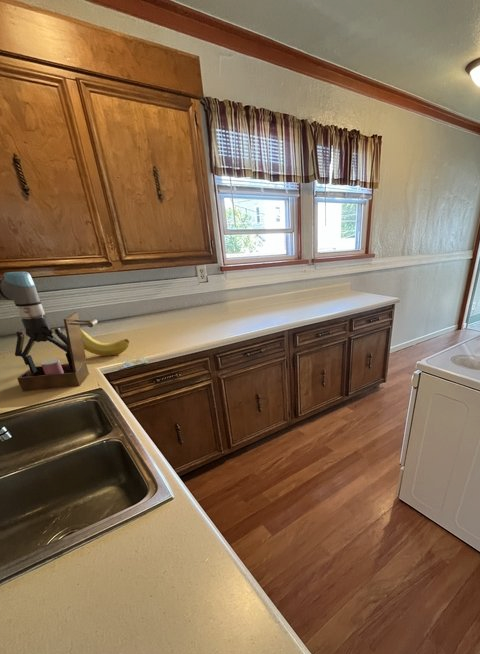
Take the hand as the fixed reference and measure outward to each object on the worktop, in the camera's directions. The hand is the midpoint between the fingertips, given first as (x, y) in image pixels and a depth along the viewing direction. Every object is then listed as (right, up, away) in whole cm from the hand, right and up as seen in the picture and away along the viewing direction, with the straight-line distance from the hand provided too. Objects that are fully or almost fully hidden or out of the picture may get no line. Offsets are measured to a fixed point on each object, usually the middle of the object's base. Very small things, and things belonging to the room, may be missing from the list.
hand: (54, 370), depth 130 cm
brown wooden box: (0, -5, +3) cm, 6 cm away
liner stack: (0, -5, +2) cm, 5 cm away
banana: (+1, +11, +35) cm, 36 cm away
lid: (+10, +11, -3) cm, 15 cm away
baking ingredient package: (+18, +5, +23) cm, 30 cm away
